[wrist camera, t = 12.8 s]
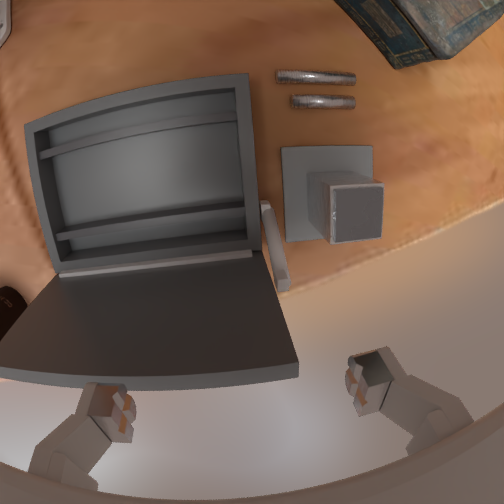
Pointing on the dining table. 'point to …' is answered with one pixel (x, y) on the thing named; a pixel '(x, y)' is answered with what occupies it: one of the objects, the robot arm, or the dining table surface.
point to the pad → (314, 161)
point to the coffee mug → (10, 308)
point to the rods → (318, 78)
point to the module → (345, 206)
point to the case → (153, 245)
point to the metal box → (422, 26)
